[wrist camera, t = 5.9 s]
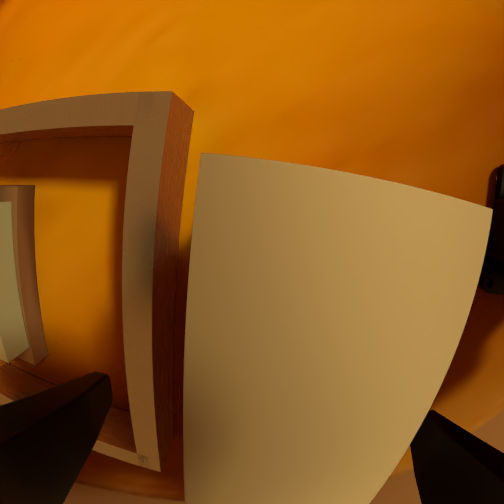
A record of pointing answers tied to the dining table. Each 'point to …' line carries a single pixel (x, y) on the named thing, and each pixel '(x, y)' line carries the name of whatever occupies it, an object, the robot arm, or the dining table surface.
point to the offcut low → (26, 267)
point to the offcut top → (9, 293)
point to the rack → (128, 253)
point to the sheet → (316, 327)
